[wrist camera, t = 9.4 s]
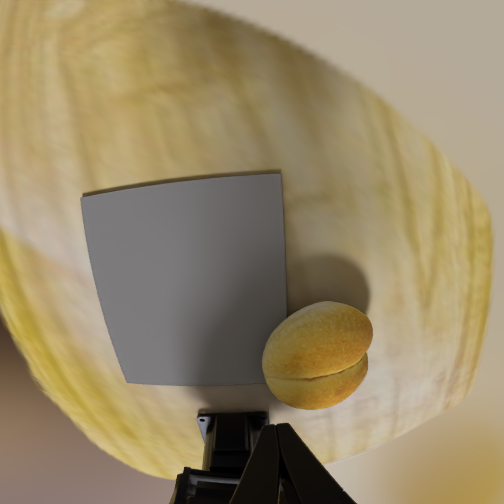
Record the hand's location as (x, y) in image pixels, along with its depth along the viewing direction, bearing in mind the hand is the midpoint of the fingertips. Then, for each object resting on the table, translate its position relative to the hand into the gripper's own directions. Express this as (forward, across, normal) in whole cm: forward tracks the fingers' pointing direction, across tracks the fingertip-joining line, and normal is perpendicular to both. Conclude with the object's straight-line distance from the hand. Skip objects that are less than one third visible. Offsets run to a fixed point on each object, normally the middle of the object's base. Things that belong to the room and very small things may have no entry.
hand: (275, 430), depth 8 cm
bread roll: (+12, -2, +2) cm, 12 cm away
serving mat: (+12, +5, 0) cm, 13 cm away
